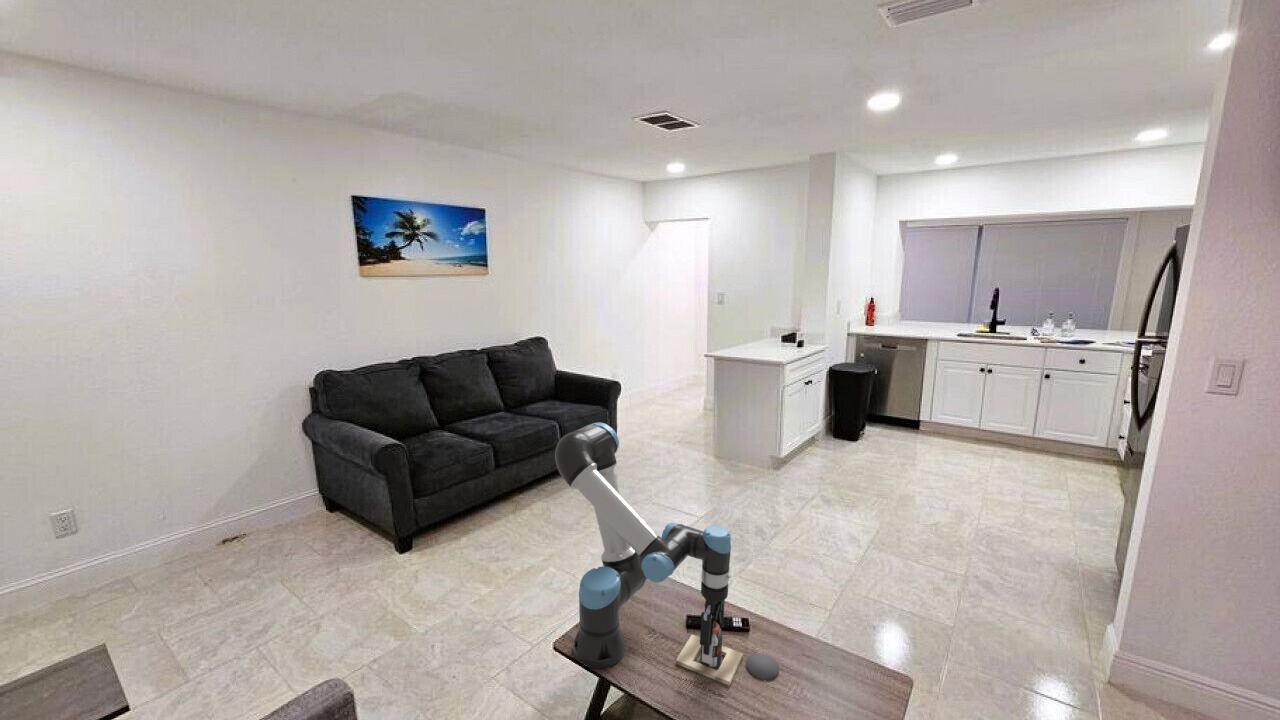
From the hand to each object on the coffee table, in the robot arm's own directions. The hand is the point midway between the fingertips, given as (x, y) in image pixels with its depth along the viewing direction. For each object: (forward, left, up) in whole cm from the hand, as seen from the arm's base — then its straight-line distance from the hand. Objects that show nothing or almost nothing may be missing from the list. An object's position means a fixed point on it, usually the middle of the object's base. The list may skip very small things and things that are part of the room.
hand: (710, 654), depth 149 cm
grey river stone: (+14, +5, -2) cm, 15 cm away
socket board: (0, 0, -2) cm, 2 cm away
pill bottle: (0, 0, -2) cm, 2 cm away
